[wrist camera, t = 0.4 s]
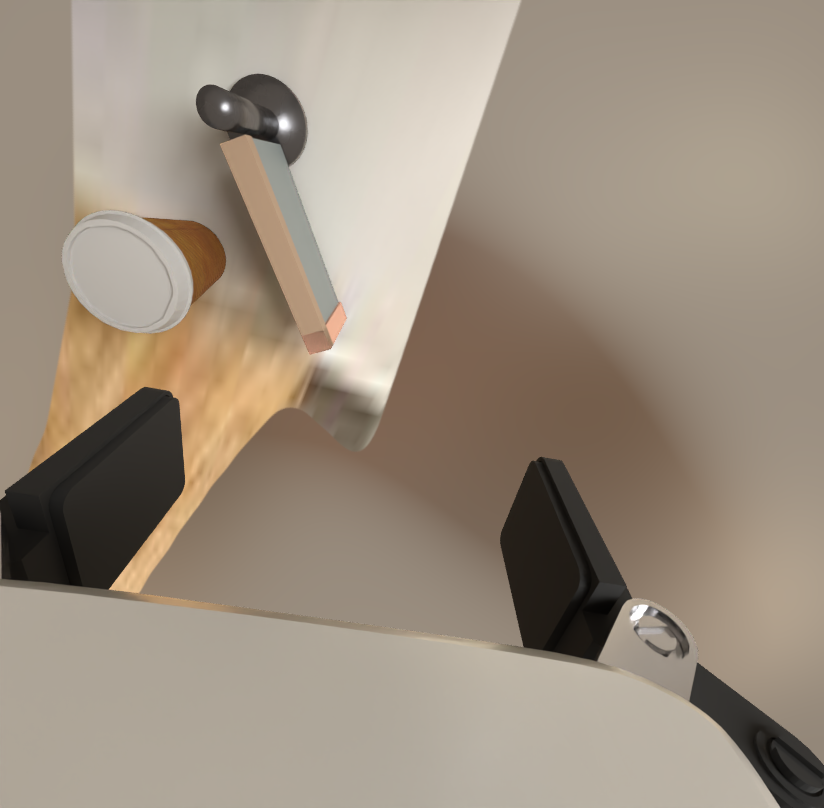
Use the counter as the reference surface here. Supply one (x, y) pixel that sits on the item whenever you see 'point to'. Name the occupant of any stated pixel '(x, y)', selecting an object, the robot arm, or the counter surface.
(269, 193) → the bar
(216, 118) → the hinge post
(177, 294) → the disposable coffee cup
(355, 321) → the counter surface
